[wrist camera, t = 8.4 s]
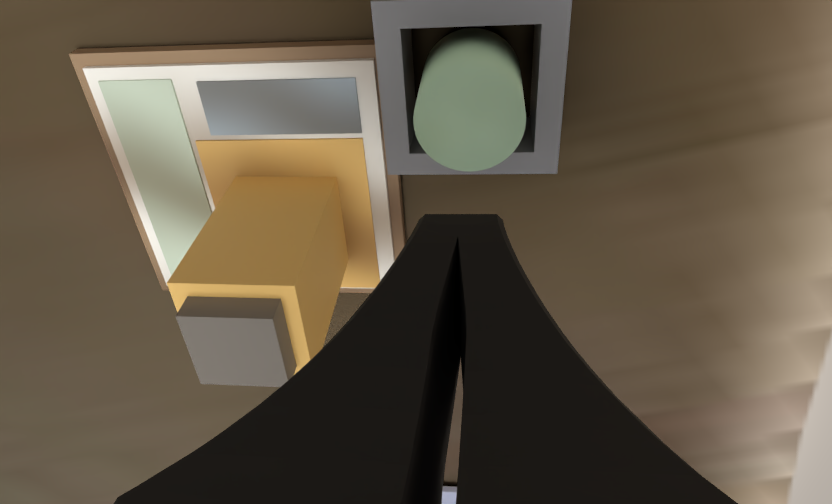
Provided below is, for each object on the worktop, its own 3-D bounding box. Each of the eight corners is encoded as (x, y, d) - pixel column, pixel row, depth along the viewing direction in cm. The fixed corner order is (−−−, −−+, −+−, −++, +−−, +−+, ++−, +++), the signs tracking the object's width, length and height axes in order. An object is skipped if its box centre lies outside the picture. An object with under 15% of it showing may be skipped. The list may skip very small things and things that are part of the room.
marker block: (348, 259, 23) (307, 398, 18) (256, 258, 23) (189, 393, 18) (336, 177, 21) (286, 306, 15) (236, 176, 21) (154, 303, 16)
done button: (518, 121, 18) (523, 170, 16) (425, 123, 19) (416, 171, 16) (523, 26, 17) (528, 65, 14) (420, 29, 17) (410, 68, 15)
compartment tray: (409, 285, 24) (407, 298, 24) (167, 282, 25) (159, 294, 25) (388, 38, 19) (384, 47, 18) (77, 48, 20) (63, 57, 19)
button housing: (550, 136, 20) (557, 173, 18) (397, 138, 20) (387, 174, 19) (562, -30, 17) (572, -7, 15) (383, -22, 18) (370, 1, 16)
